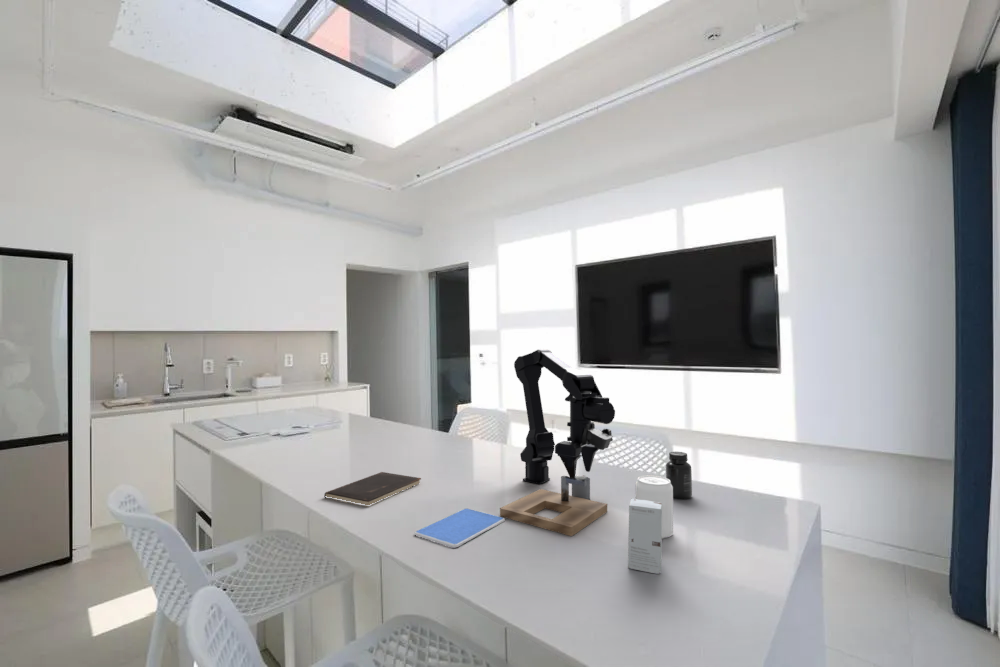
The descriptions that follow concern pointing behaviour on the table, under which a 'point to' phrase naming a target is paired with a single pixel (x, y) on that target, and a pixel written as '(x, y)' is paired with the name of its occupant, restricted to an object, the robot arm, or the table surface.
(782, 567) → the table surface
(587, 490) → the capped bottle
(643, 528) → the skincare box
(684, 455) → the supplement bottle
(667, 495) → the beverage can
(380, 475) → the hardcover book
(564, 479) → the hook post
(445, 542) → the tablet computer
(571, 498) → the base board
